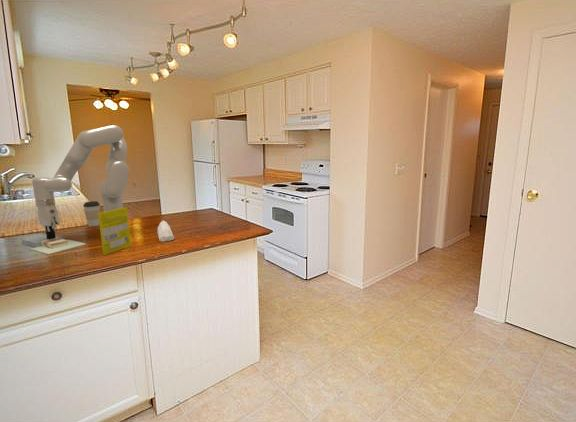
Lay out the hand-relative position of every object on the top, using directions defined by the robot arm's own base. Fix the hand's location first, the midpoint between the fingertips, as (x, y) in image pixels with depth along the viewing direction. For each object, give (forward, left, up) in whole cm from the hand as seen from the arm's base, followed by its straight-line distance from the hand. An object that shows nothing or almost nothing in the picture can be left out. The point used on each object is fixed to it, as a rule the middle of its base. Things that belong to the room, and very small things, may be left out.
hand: (51, 238), depth 155 cm
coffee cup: (+23, -35, -4) cm, 42 cm away
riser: (+9, 0, -4) cm, 10 cm away
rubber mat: (-6, 0, -4) cm, 7 cm away
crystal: (-38, -38, -4) cm, 54 cm away
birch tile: (-3, 0, -3) cm, 4 cm away
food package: (-37, -10, -4) cm, 39 cm away
